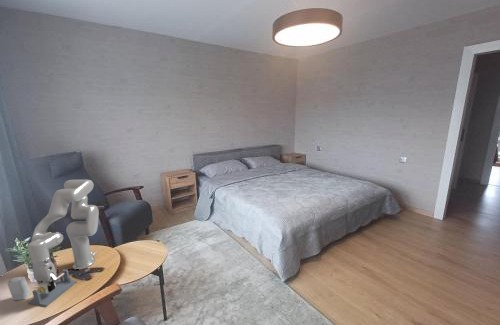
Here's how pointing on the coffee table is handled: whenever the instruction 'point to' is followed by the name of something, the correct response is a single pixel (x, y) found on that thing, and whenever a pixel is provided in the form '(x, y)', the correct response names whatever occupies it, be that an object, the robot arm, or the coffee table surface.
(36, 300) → the slide rail
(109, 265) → the coffee table surface
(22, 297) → the skincare box
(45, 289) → the sleeve
